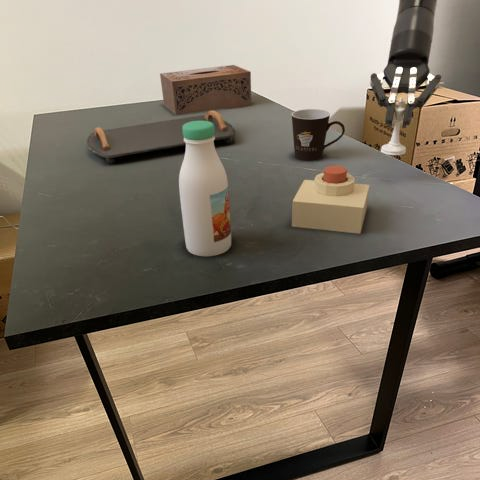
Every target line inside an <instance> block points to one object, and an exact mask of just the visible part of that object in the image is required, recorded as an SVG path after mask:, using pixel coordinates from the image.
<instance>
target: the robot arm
mask: <svg viewBox="0 0 480 480" xmlns="http://www.w3.org/2000/svg"><path fill="white" fill-rule="evenodd" d="M398 1H399V2H398V8H397V14H396V19H395V24H394V25H393V26H394V27H393V30H392V34H391V40H390V47H389V53H388V59H387V64H386V66H385V67H384V69H383V72H381V73H375V72H373V73H371V74H370V81H369V83H370V84H369V85H370V87H371V89H372V92H373V94H374V97H375V99H376V101H377V104H378V106H379V107H381V108H383V107H384V108H386V112H385V120H384V122H385V125H387V128H392V127H393V123H392V122H393V120H394V117H395V111H394V110H395V108H396V103H397V99H398V95H399V94H402V93H404V94H407V95H406V103H405V107H404V108H405V112H404V114H403V120H402V121H403V124H401V125H402V126H401V128H402V129H406V128H407V126H410V125H411V122H412V116H413V111H414V110H415V109H417V108H418V109H422V108H423V107H424V106H425V105H426V103H427V102H428V101H429V100H430V99H431V97H432V96H433V95H434V93H435V92H436V91H437V90H438V89H439V87H440V85H441V81H442V75H441V74H432V73H431V71H430V68H429V63H430V55H431V50H432V49H431V48H432V44H433V37H434V31H435V30H434V29H435V17H436V16H435V15H436V9H437V6H438V5H437V3H438V0H398ZM384 81H385V83H386V84H387V86H388V88H389V89H390V92H389V96H387V95H386V93H385V90H384V88H383V83H384ZM424 83H426V84H425V85H426V86H425V88H424V89H423V90H422V92H421V93H420V94H419V95H418V97H417V96H416V91H417V90H418V89H419V88H420V87H421V86H422V85H423V84H424Z"/></svg>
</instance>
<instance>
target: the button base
mask: <svg viewBox="0 0 480 480" xmlns="http://www.w3.org/2000/svg"><path fill="white" fill-rule="evenodd" d="M323 176H324V172H321V173H318V174H316V175H315V177H314V179H313V180H311V179H303V182H302V183H301V185H300V186H299V189H298V191H297V192H296V194H295V196H294V198H293V200H292V208H291V209H292V210H291V227H293V228H301V229H302V228H303V229H313V230H321V231H322V230H323V231H329V232H330V231H331V232H338V233H339V232H341V233H350V234H359V235H361V233H362V229H363V225H364V222H365V217H366V213H367V209H368V200H369V194H370V184H366V183H365V184H361V183H356V178H355V177H354V176H353V175H352V174H350V173H347V177H346V182H344V183H339V184H333V183H327V182H324V181H323Z"/></svg>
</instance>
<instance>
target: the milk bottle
mask: <svg viewBox="0 0 480 480" xmlns="http://www.w3.org/2000/svg"><path fill="white" fill-rule="evenodd" d="M182 129H183V136H184V142H185V143H186V145H185V152H184V158H183V160H182V163H181V166H180V170H179V174H178V188H179V189H178V190H179V191H178V192H179V201H180V209H181V217H182V225H183V233H184V234H183V235H184V241H185V247H186V250H187V251H188V252H189V253H190V254H193V255H194V256H198V257H214V256H218V255H219V256H220V255H222V254H224V253H226V252H228V251H229V249H230V248H231V246H232V226H231V209H230V208H231V207H230V191H229V183H228V176H227V172H226V170H225V167H224V164H223V163H222V161H221V159H220V157H219V155H218V152H217V150H216V147H215V142H214V141H216V140H215V137H214V134H215V129H214V124H213V123H212V122H209V121H192V122H188V123H186V124H184V125H183V128H182Z"/></svg>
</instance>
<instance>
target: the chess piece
mask: <svg viewBox="0 0 480 480" xmlns="http://www.w3.org/2000/svg"><path fill="white" fill-rule="evenodd" d="M406 103H407V100H404V97H399V101H398V100H397V101H396V102H395V105H397V107H395V110H394V118H395V119H393V122H392V125H393V124H394V126H393V131H392V134H391V138H390V140H389V141H388V143H385V144H383V145H382V146H381V148H380V152H381V153H382V154H384V155H388V156H400V155H404V154H406V153H407V147H406V146H405V145H404V144H401V141H400V129H401V125H403V120H402V118H403V117H404V113H405V107H403V105H406Z"/></svg>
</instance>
